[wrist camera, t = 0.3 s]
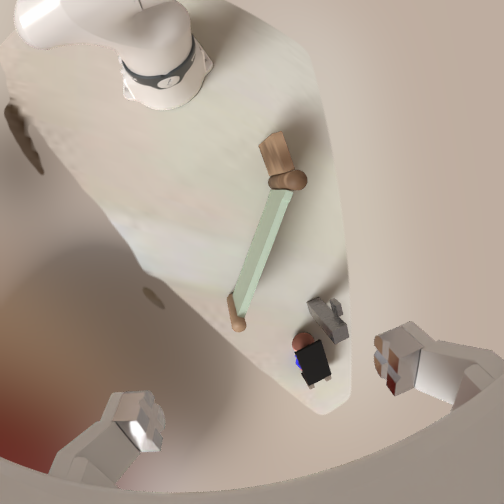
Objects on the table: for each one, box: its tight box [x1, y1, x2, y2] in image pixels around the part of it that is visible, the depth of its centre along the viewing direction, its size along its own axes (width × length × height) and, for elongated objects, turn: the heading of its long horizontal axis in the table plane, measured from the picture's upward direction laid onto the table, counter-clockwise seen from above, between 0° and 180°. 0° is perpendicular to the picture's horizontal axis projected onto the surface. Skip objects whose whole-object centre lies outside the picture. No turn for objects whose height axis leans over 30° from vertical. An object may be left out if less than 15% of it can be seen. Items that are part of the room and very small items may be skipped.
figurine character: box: [292, 332, 331, 389], centre depth 60 cm, size 7×8×15 cm
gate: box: [227, 190, 293, 332], centre depth 50 cm, size 24×2×12 cm, turn 160°
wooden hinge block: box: [259, 131, 307, 190], centre depth 46 cm, size 10×3×14 cm, turn 19°
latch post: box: [307, 297, 349, 344], centre depth 54 cm, size 6×4×14 cm
